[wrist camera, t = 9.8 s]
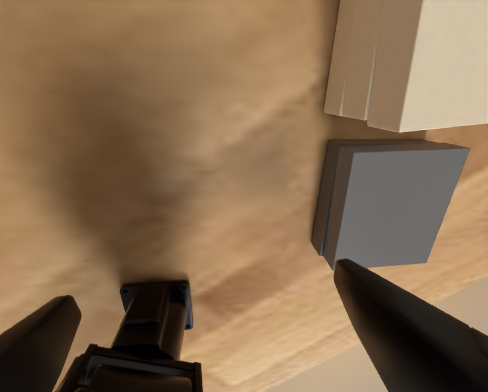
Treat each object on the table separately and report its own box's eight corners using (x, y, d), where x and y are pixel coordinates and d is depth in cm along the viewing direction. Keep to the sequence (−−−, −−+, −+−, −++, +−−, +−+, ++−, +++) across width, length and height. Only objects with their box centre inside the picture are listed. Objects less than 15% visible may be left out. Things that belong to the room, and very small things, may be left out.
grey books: (392, 239, 23) (425, 266, 20) (310, 242, 22) (328, 271, 19) (426, 138, 19) (475, 148, 16) (328, 137, 18) (354, 148, 15)
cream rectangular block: (465, 115, 13) (519, 120, 11) (366, 126, 13) (398, 133, 11) (522, -77, 10) (616, -130, 8) (391, -69, 10) (446, -122, 7)
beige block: (397, 114, 18) (460, 121, 13) (318, 113, 18) (354, 120, 13) (435, -23, 15) (537, -79, 10) (338, -31, 14) (398, -94, 9)
